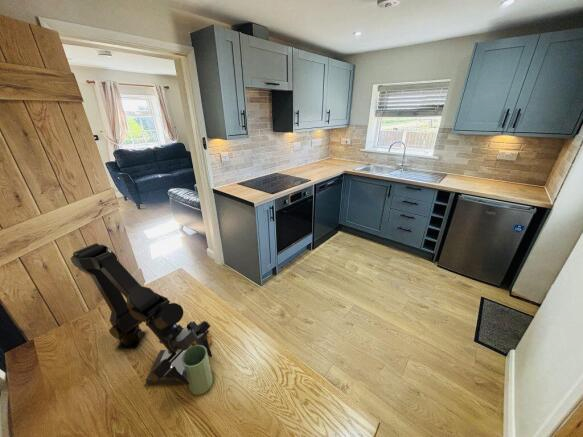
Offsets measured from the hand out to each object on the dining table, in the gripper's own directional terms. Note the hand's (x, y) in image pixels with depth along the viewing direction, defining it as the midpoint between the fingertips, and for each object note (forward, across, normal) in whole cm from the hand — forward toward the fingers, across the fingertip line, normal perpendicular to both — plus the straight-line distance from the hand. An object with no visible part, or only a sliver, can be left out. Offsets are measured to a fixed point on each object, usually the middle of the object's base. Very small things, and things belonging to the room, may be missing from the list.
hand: (200, 369), depth 71 cm
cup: (+4, 0, +6) cm, 7 cm away
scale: (-4, -1, +14) cm, 15 cm away
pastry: (-4, +12, +14) cm, 19 cm away
